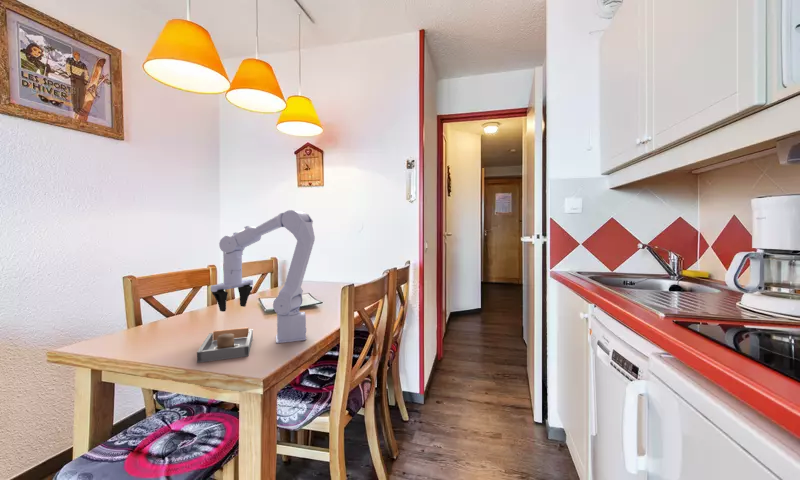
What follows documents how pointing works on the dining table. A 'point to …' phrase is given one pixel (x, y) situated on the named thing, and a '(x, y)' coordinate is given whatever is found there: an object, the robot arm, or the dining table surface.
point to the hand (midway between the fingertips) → (233, 308)
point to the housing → (224, 349)
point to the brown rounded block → (225, 341)
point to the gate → (232, 332)
